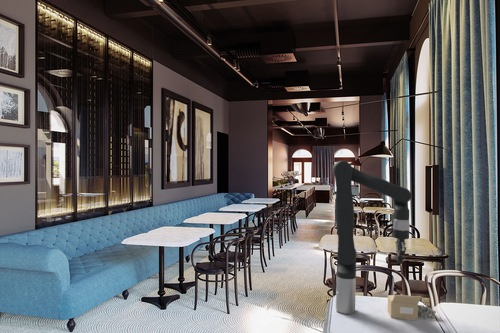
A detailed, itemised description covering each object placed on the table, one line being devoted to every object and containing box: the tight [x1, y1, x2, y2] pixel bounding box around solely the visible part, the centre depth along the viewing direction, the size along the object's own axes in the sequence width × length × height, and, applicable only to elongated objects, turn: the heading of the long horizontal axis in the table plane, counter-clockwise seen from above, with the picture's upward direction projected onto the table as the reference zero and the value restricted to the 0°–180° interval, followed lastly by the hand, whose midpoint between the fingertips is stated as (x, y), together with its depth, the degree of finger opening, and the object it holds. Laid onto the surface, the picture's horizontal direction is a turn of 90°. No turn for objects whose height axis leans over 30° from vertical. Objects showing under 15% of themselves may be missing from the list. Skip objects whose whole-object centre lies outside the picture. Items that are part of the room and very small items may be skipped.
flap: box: [392, 294, 422, 305], centre depth 174 cm, size 12×8×1 cm
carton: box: [387, 294, 419, 321], centre depth 181 cm, size 12×9×8 cm
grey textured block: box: [417, 304, 437, 320], centre depth 182 cm, size 11×8×4 cm
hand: (400, 263), depth 182 cm, fingers closed
